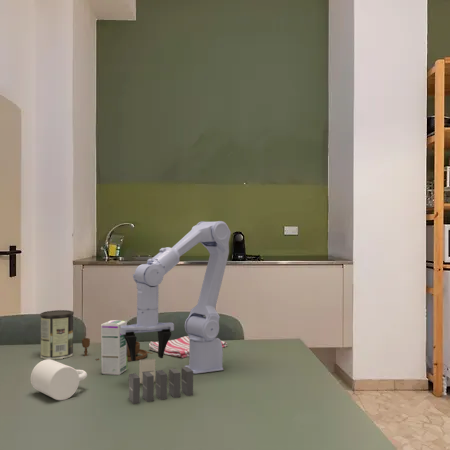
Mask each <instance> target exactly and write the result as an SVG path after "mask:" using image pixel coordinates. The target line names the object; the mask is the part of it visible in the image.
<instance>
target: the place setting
mask: <svg viewBox="0 0 450 450" xmlns="http://www.w3.org/2000/svg"><path fill="white" fill-rule="evenodd" d="M90 342H91V339H90V338H89V337H87V338H82V340H81V346H82V347H83V348H84V352H83V353H84V355H83V356H84V357H88V356H89V355H88V348H89V347H90V344H91V343H90ZM135 352H136V360H135V361H134V362H136V361H139V360H142V359H146V357H147V356H148V354H153V352H149V351H147V350H145V349H142V348H141V343H140V341H136V348H135ZM138 354H139V355H138ZM137 355H138V356H137ZM95 361H100V358H95ZM127 362H133V361H132V360H131V356H130V351H129V347H128V345H127Z"/></svg>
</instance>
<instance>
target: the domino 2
mask: <svg viewBox="0 0 450 450" xmlns="http://www.w3.org/2000/svg"><path fill="white" fill-rule="evenodd" d="M138 361H139V362H138V369H139V370H138V371H139V372H138V376H139V377H140V385H141V384H142V385H143V372H150V373H151V374H152V375H153V376H154V383H156V358H152V357H151V358H144V359H141V360H138Z"/></svg>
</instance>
